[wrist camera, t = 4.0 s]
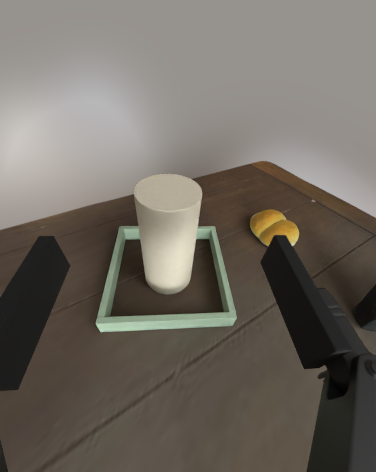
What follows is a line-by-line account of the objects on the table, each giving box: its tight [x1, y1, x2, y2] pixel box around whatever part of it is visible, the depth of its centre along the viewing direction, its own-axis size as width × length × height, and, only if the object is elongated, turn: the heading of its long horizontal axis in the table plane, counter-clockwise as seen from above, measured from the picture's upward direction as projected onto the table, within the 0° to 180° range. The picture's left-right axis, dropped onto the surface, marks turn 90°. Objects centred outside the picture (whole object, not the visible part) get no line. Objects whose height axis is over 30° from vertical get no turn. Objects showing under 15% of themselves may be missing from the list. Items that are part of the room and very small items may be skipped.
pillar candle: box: [134, 174, 202, 294], centre depth 26 cm, size 7×7×15 cm
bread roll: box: [250, 209, 299, 246], centre depth 38 cm, size 8×9×4 cm
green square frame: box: [96, 226, 237, 332], centre depth 31 cm, size 17×17×2 cm
